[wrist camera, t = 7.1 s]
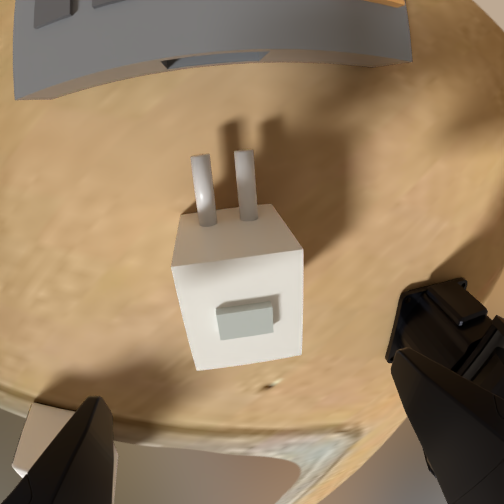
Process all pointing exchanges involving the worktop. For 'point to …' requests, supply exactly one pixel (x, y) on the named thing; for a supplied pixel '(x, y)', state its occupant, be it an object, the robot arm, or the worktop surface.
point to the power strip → (194, 38)
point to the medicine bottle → (43, 437)
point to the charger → (237, 275)
